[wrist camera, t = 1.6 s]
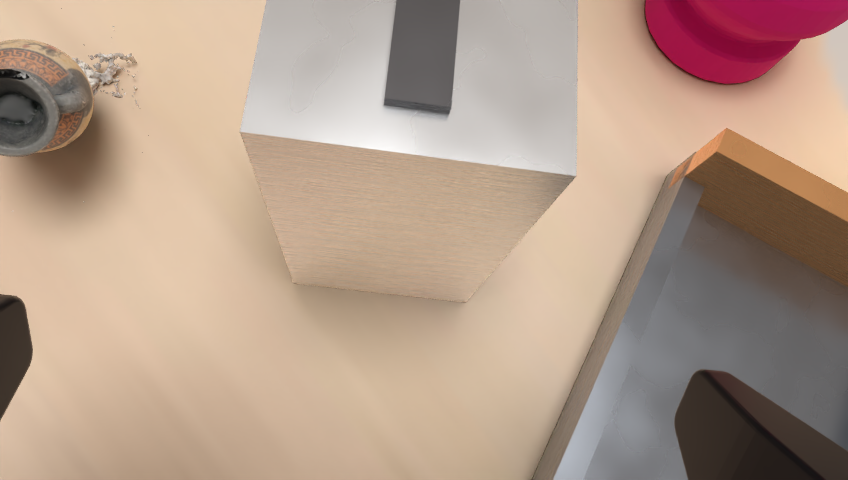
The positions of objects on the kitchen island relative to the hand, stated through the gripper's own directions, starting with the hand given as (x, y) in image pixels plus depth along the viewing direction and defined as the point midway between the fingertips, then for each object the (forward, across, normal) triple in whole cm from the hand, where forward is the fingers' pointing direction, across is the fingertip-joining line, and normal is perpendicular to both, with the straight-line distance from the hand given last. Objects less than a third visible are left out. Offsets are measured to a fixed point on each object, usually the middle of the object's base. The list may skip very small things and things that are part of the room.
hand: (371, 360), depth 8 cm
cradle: (+10, -13, +8) cm, 18 cm away
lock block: (+13, 0, +4) cm, 14 cm away
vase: (+15, +11, +3) cm, 19 cm away
